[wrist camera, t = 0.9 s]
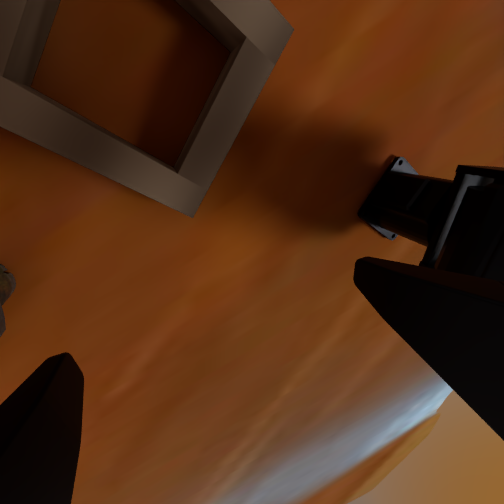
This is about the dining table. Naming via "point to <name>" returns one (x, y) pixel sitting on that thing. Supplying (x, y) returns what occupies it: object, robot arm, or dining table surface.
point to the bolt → (5, 293)
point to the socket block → (117, 149)
